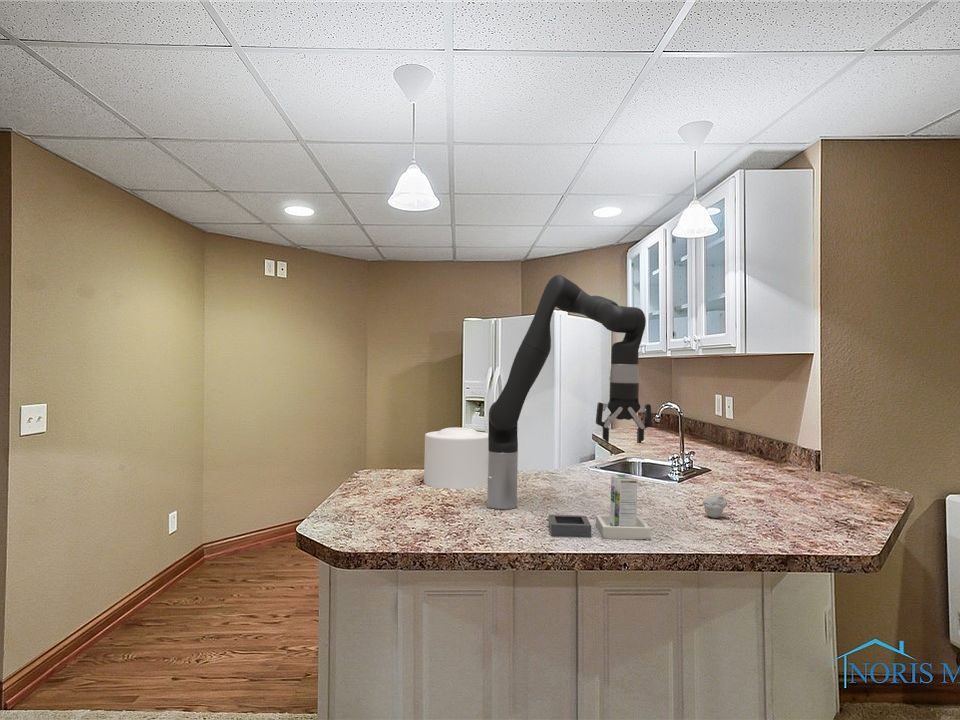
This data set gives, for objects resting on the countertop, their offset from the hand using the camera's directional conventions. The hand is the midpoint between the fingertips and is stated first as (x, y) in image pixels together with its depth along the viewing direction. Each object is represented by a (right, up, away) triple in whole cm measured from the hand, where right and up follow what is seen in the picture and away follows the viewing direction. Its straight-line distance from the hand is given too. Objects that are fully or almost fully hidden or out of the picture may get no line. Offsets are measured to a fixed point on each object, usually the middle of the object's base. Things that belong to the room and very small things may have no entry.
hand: (623, 442), depth 154 cm
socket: (-14, -24, +1) cm, 28 cm away
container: (-47, -24, +64) cm, 83 cm away
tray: (0, -24, 0) cm, 24 cm away
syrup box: (0, -24, 0) cm, 24 cm away
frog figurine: (+32, -25, +18) cm, 44 cm away
